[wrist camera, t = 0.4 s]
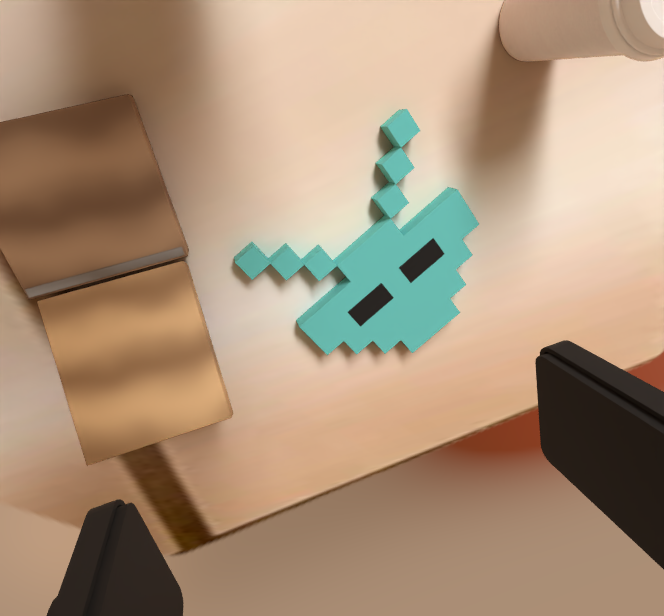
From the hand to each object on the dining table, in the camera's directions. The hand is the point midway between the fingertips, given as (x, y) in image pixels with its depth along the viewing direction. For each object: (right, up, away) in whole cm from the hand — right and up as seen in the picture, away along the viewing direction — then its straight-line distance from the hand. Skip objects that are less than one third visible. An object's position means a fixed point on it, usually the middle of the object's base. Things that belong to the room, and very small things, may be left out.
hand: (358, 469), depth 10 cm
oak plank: (-17, -1, +29) cm, 34 cm away
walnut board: (-21, +13, +26) cm, 36 cm away
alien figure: (+4, +8, +35) cm, 37 cm away
